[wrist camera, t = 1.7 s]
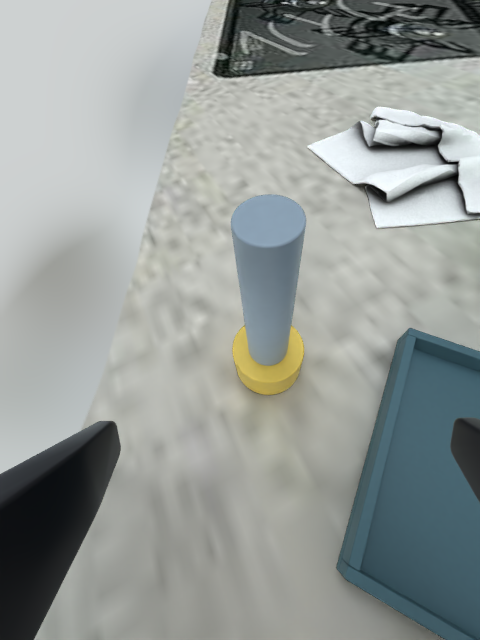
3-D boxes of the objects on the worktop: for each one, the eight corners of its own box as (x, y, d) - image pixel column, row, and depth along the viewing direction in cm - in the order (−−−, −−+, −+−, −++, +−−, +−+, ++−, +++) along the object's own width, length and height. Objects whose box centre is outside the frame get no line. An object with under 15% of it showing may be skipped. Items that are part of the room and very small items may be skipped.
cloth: (559, 229, 26) (585, 207, 24) (308, 227, 29) (312, 207, 27) (488, 108, 36) (502, 85, 34) (306, 115, 38) (308, 93, 36)
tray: (584, 716, 13) (636, 754, 11) (335, 568, 16) (344, 579, 14) (576, 403, 19) (608, 395, 17) (397, 339, 22) (409, 327, 21)
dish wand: (302, 394, 21) (351, 270, 9) (236, 395, 21) (193, 277, 9) (297, 334, 23) (329, 170, 11) (236, 336, 24) (203, 179, 11)
